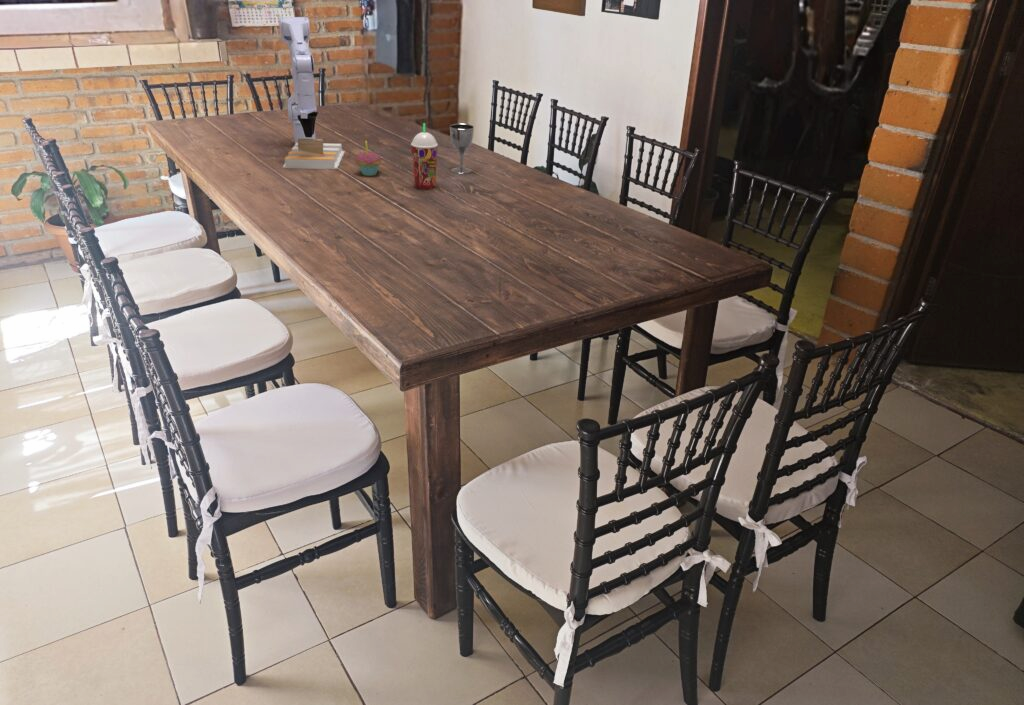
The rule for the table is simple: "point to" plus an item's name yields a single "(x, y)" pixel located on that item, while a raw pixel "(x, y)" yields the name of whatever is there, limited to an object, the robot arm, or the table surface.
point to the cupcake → (368, 162)
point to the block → (311, 147)
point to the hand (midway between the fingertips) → (309, 135)
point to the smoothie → (424, 159)
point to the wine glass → (461, 142)
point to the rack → (315, 158)
